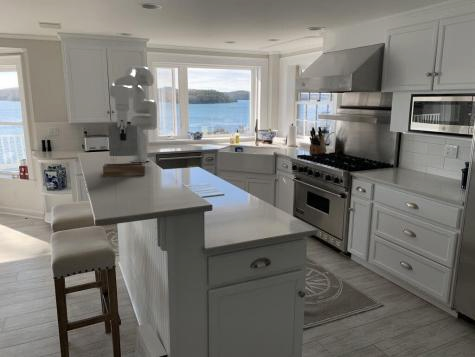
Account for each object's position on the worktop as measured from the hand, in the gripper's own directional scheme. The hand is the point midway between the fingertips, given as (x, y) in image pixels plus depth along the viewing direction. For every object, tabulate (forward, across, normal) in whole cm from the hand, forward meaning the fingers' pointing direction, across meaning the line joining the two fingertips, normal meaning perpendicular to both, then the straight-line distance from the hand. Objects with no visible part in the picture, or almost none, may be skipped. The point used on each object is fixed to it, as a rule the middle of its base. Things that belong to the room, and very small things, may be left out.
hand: (123, 139), depth 215 cm
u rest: (+20, 0, 0) cm, 20 cm away
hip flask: (+10, 0, 0) cm, 10 cm away
